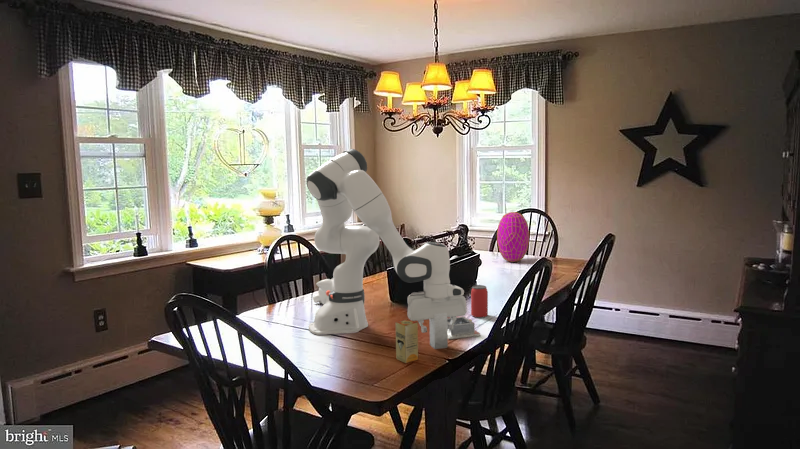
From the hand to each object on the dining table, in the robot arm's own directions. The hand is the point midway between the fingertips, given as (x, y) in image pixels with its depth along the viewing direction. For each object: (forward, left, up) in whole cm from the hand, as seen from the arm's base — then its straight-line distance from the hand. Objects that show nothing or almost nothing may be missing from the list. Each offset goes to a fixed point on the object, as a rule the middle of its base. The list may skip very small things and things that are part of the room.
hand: (437, 330), depth 190 cm
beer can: (+30, +29, -6) cm, 41 cm away
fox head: (-23, +69, -6) cm, 73 cm away
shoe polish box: (-13, -7, -6) cm, 16 cm away
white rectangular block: (+1, +1, -6) cm, 6 cm away
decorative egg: (+101, +128, -6) cm, 163 cm away
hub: (+13, +12, -6) cm, 18 cm away
